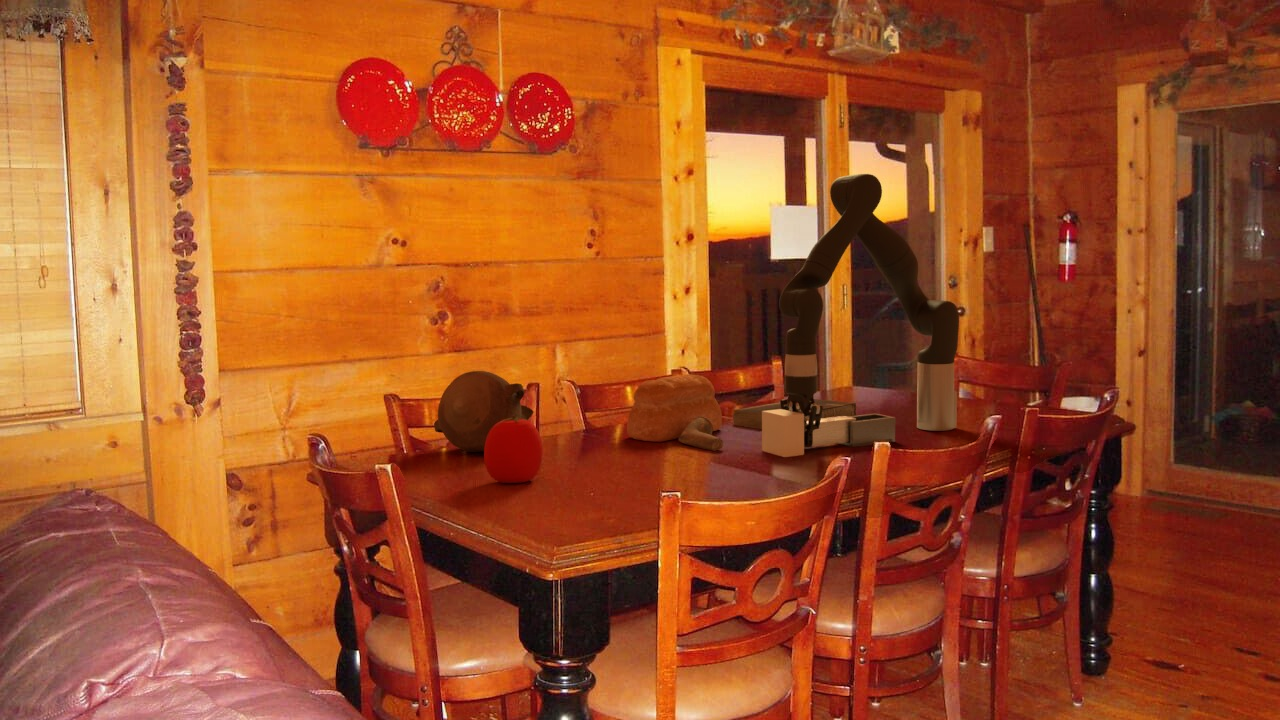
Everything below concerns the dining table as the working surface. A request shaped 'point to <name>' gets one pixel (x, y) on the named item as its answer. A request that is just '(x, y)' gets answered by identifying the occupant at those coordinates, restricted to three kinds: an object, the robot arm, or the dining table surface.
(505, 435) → the tomato
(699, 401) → the bread
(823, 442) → the beige rectangular block
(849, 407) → the grey shallow rectangular piece
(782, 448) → the tan block
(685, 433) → the pipe
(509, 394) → the jug
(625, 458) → the dining table surface
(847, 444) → the sleeve
